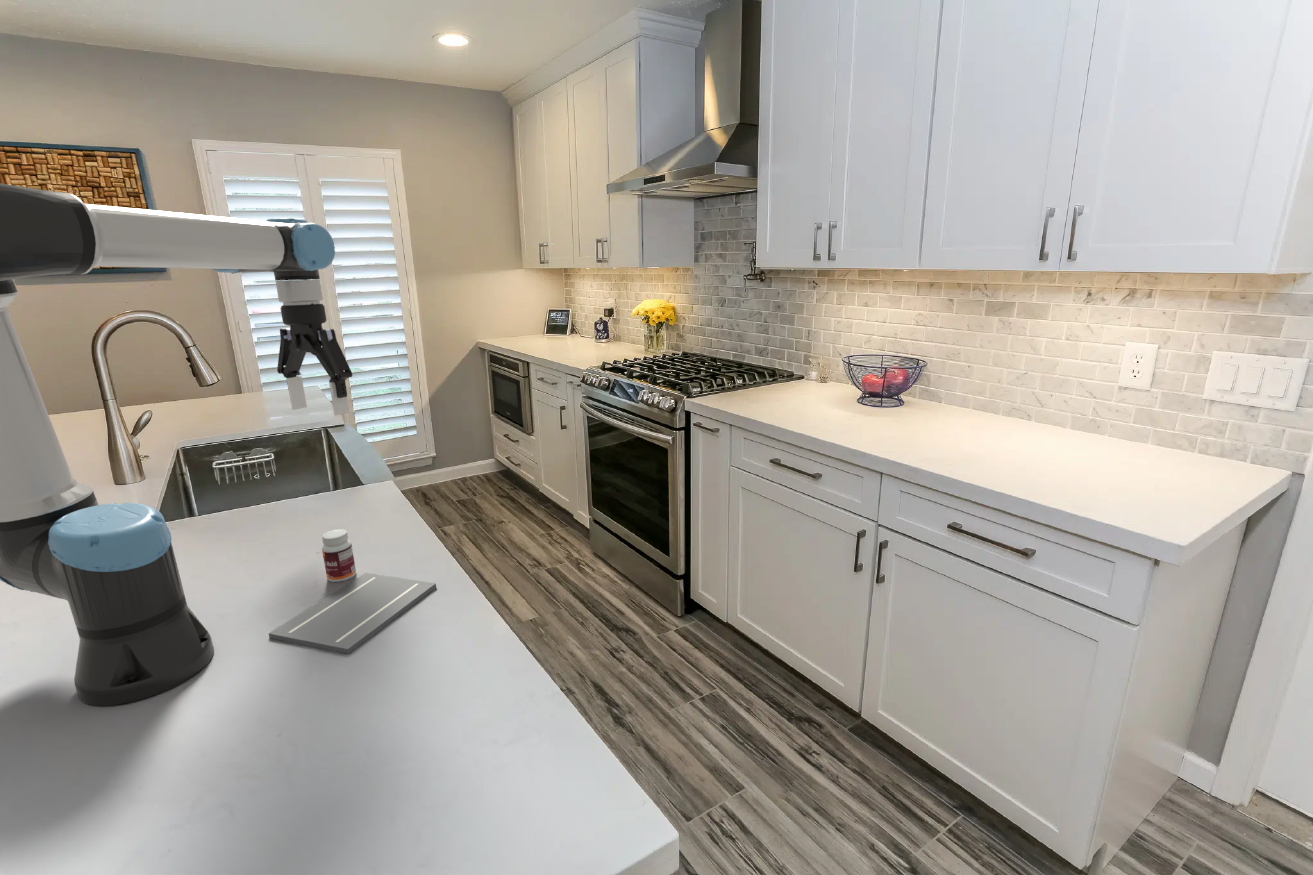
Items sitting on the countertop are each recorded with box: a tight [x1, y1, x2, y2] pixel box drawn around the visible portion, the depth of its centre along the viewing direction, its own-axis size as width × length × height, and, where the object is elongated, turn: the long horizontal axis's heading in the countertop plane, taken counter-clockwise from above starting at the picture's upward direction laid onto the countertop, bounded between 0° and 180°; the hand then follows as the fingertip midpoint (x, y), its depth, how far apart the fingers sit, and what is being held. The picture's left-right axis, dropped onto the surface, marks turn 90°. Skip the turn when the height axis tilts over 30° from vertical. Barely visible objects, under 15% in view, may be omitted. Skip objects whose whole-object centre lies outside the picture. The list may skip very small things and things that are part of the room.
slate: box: [268, 572, 437, 655], centre depth 103 cm, size 20×15×1 cm
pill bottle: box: [321, 528, 357, 583], centre depth 114 cm, size 5×5×8 cm
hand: (320, 411), depth 128 cm, fingers open, 13 cm apart
